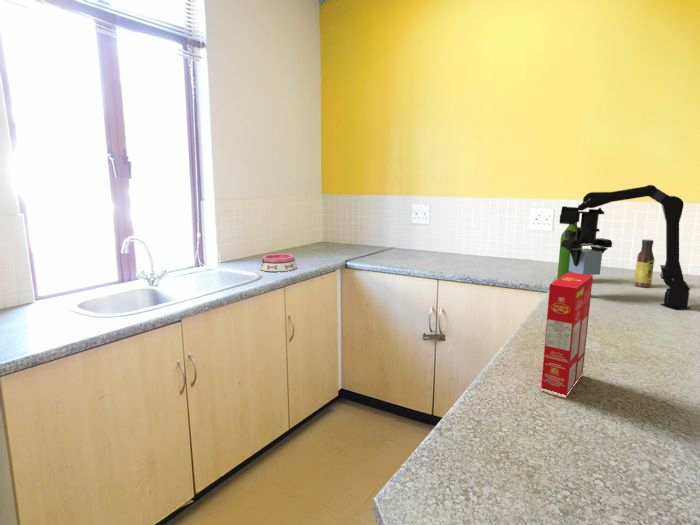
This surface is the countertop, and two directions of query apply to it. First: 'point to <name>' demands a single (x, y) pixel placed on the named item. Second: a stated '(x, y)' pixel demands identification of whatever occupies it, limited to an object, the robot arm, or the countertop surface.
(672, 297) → the robot arm
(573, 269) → the grey-blue cube
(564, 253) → the wine bottle
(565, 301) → the food packaging
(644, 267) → the sauce bottle
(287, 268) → the dog bowl
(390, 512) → the countertop surface
